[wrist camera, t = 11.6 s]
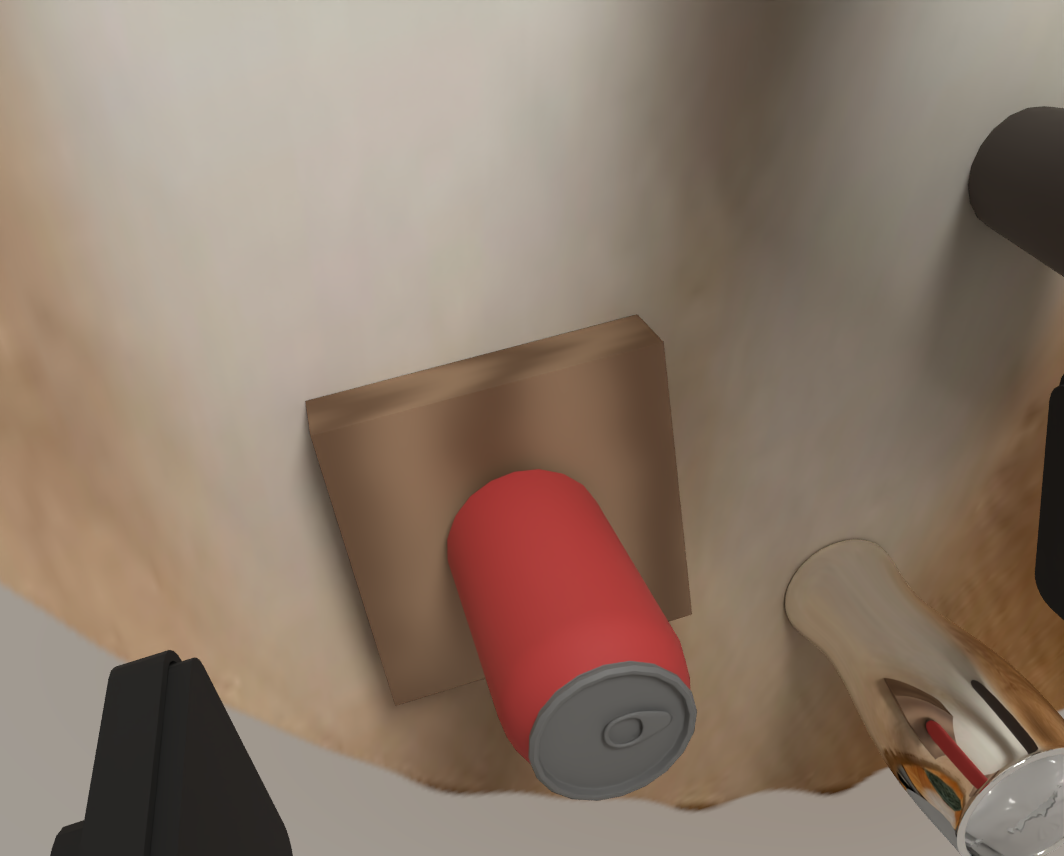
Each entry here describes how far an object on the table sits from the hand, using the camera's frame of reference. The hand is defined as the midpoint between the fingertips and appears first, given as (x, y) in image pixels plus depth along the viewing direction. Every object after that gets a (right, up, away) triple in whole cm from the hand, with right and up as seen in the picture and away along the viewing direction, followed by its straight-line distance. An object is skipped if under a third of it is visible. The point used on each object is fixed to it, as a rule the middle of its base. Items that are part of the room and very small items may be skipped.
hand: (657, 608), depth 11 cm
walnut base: (-2, -1, +34) cm, 34 cm away
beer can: (-2, -2, +32) cm, 32 cm away
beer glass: (+14, -6, +42) cm, 45 cm away
